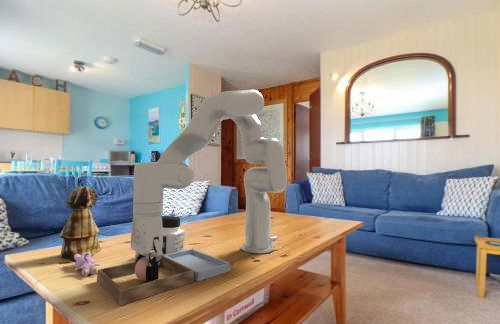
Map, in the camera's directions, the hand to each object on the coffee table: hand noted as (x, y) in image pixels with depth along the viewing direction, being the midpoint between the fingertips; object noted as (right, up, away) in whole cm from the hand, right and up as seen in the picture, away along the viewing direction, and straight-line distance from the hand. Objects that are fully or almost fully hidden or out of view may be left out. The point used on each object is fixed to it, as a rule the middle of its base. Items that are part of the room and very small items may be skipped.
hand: (146, 276), depth 69 cm
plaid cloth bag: (-32, -2, +20) cm, 38 cm away
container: (-1, -3, +25) cm, 25 cm away
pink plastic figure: (-21, -2, +7) cm, 22 cm away
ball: (0, -1, 0) cm, 1 cm away
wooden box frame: (0, -1, 0) cm, 1 cm away
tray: (+10, -2, +12) cm, 16 cm away
